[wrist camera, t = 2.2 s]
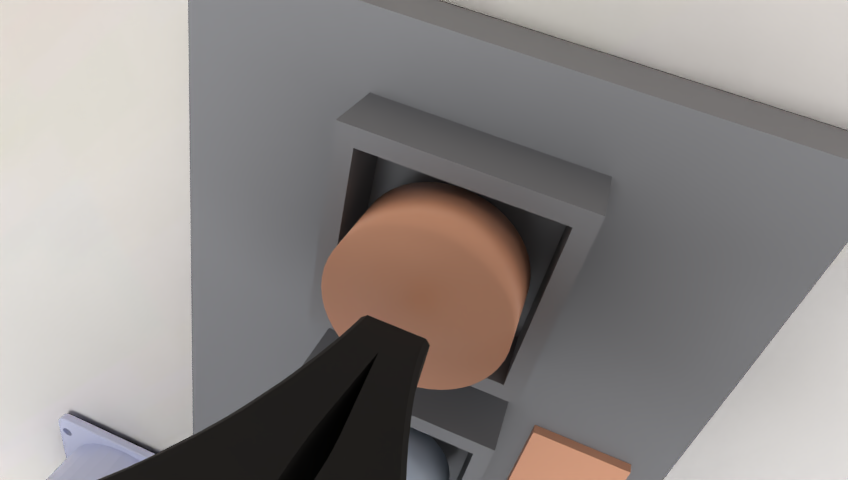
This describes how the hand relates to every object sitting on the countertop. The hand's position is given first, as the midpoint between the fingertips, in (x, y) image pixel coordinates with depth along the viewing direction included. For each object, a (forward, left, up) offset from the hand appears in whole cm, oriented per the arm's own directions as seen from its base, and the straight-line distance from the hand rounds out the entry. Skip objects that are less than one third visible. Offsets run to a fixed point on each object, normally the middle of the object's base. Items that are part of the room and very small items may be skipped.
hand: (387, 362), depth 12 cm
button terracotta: (0, 0, -4) cm, 4 cm away
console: (-8, 0, -7) cm, 11 cm away
